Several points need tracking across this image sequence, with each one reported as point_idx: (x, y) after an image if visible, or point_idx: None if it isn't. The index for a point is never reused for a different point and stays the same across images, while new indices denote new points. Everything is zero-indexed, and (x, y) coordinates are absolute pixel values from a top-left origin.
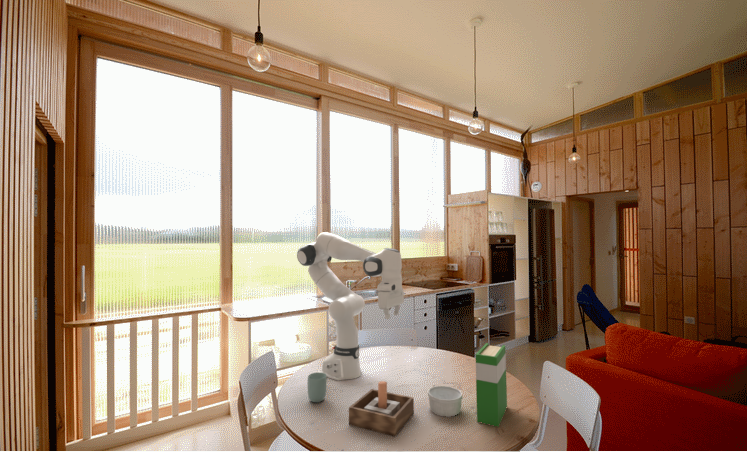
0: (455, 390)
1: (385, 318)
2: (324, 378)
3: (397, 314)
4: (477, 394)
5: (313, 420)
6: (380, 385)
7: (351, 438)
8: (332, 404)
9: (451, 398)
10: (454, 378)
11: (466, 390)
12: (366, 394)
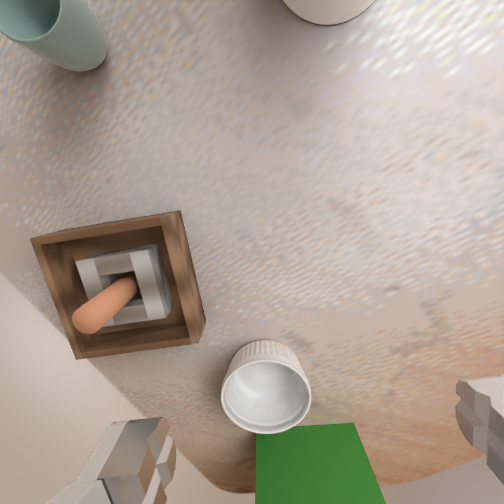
0: (304, 406)
1: (115, 424)
2: (35, 44)
3: (465, 436)
4: (255, 489)
5: (8, 139)
6: (74, 321)
7: (30, 270)
8: (103, 113)
9: (298, 381)
10: (476, 314)
11: (401, 367)
12: (125, 227)
